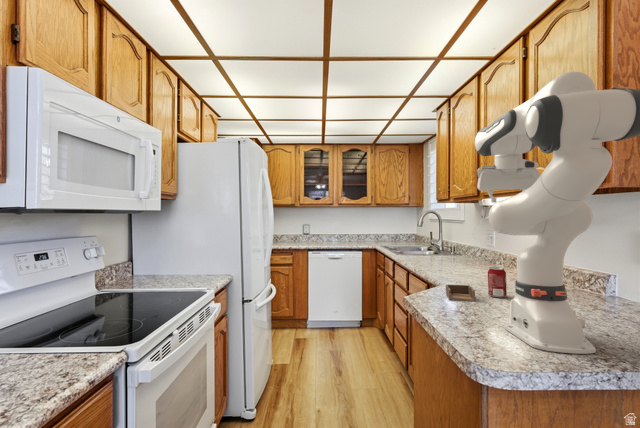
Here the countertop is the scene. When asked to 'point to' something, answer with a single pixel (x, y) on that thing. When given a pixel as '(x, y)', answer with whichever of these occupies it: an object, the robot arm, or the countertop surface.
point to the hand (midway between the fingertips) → (507, 202)
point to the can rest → (460, 292)
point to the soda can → (497, 282)
